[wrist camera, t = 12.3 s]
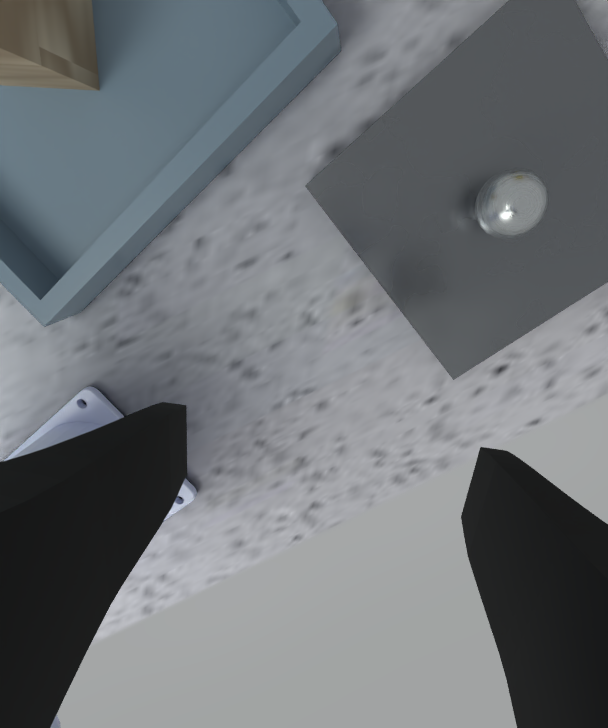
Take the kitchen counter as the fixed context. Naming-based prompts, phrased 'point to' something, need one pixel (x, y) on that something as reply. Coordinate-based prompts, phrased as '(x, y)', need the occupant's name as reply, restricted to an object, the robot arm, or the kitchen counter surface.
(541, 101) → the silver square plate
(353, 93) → the kitchen counter surface
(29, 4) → the strut
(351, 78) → the kitchen counter surface
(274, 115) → the bin
